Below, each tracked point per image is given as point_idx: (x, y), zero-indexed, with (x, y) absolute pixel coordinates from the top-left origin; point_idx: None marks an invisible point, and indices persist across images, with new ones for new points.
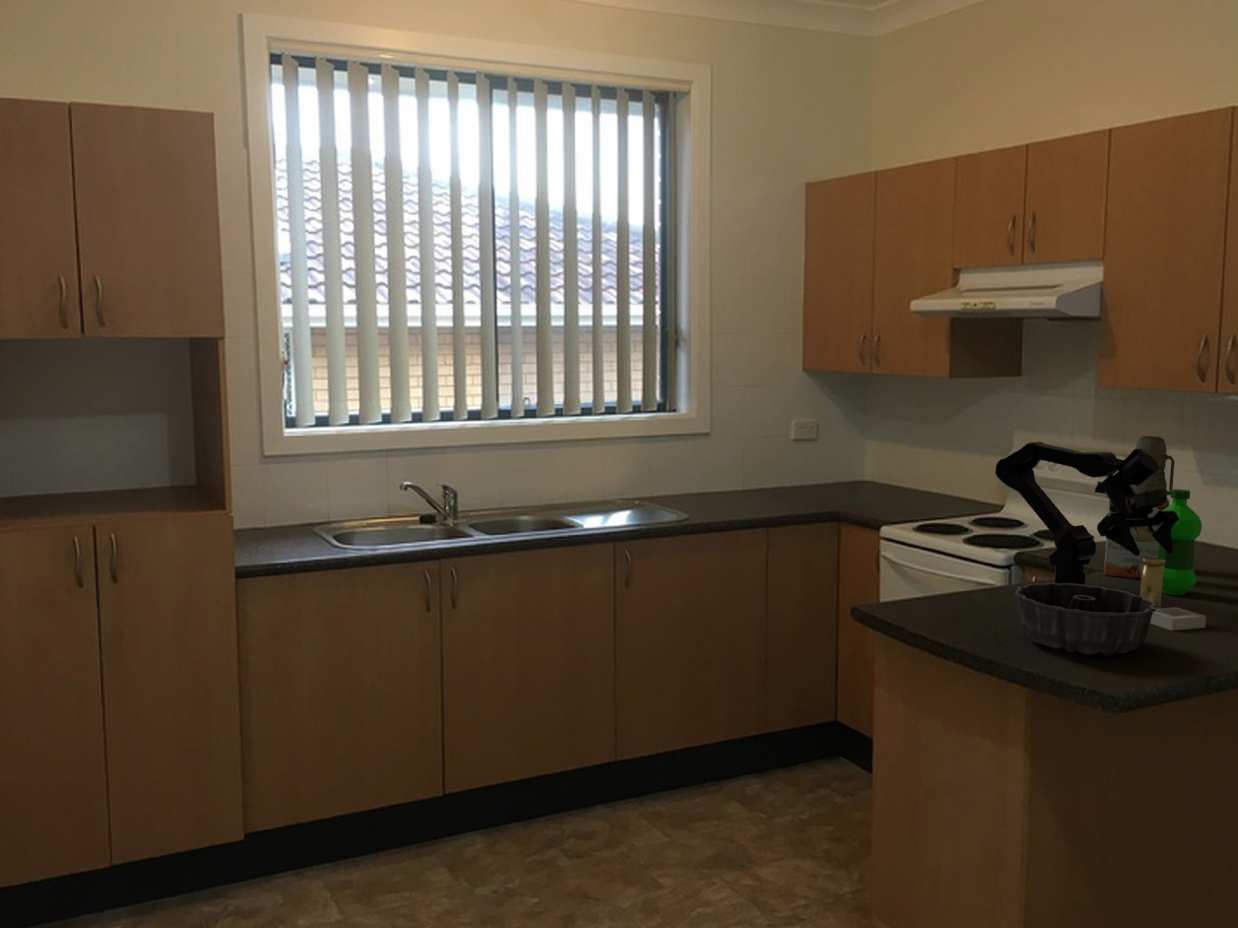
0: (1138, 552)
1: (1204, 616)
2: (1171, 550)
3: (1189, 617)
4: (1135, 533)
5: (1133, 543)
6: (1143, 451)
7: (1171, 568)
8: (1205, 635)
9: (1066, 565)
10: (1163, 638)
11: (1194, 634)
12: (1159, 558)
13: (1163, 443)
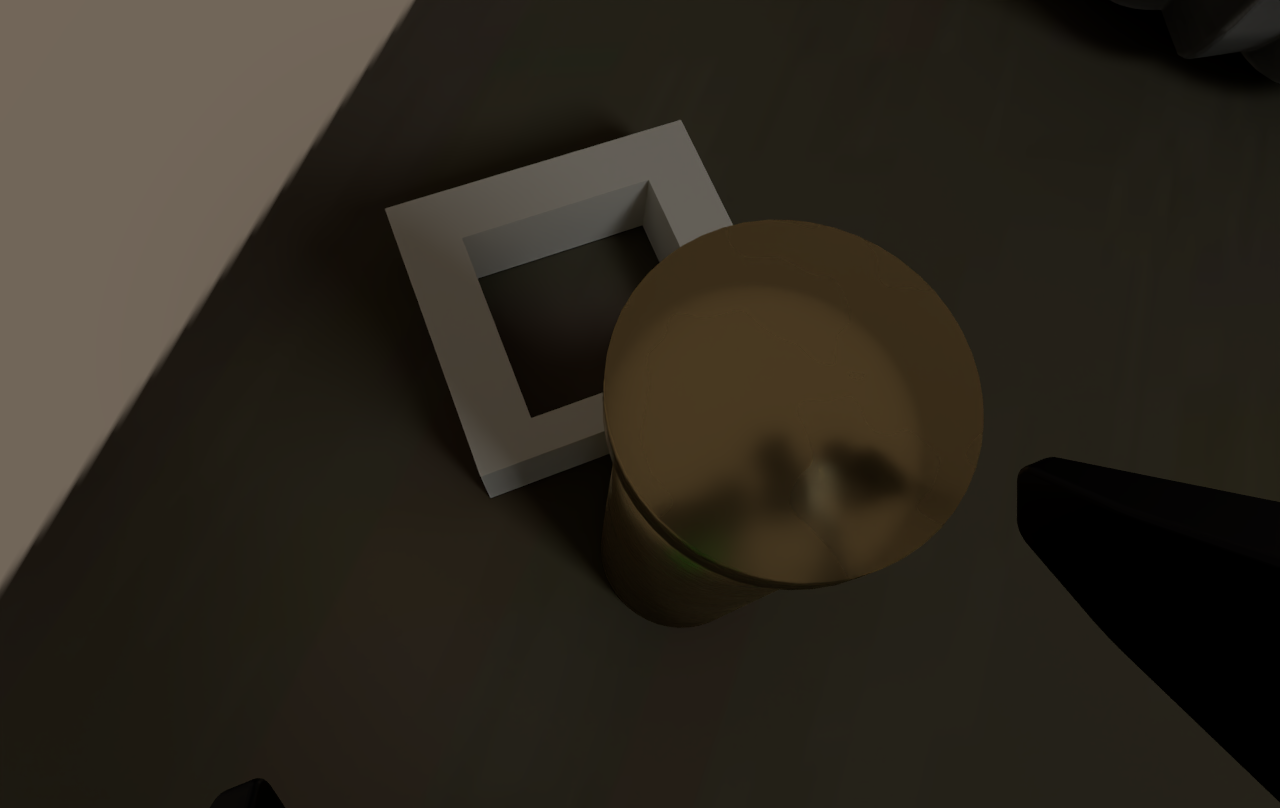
0: (1061, 463)
1: (399, 204)
2: (257, 803)
3: (537, 163)
4: None
5: (1277, 518)
6: None
7: None
8: (504, 79)
9: None
10: (791, 11)
11: (564, 95)
12: (681, 409)
13: None
